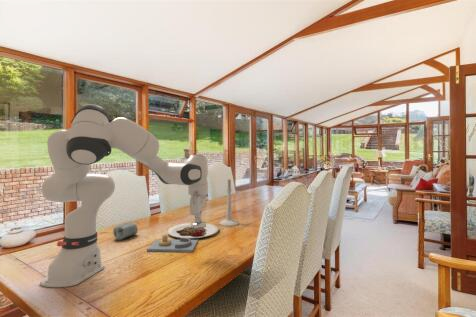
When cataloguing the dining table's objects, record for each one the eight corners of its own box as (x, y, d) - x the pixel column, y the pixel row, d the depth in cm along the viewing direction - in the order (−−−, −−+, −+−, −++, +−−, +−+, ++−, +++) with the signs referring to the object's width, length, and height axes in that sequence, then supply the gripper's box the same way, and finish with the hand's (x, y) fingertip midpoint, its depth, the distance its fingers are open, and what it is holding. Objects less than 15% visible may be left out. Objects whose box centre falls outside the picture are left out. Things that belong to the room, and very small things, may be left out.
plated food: (190, 223, 177) (190, 218, 177) (228, 229, 162) (228, 224, 162) (156, 235, 151) (156, 229, 151) (197, 244, 136) (197, 238, 136)
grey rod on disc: (235, 220, 183) (235, 177, 182) (241, 225, 171) (241, 179, 170) (217, 222, 179) (217, 178, 178) (222, 227, 167) (222, 180, 166)
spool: (120, 237, 138) (119, 218, 142) (109, 242, 141) (108, 224, 146) (142, 236, 149) (140, 219, 153) (131, 241, 153) (130, 225, 157)
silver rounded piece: (204, 228, 117) (204, 215, 117) (189, 228, 117) (189, 215, 117) (207, 224, 124) (207, 211, 124) (192, 224, 124) (192, 211, 124)
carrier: (192, 252, 126) (192, 240, 125) (147, 251, 126) (146, 239, 126) (197, 242, 140) (197, 231, 139) (157, 241, 140) (157, 230, 140)
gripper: (201, 193, 109) (201, 226, 110) (208, 187, 130) (208, 214, 130) (186, 193, 110) (186, 226, 110) (195, 187, 130) (195, 214, 130)
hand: (198, 220), depth 120 cm, fingers closed on silver rounded piece, 3 cm apart
